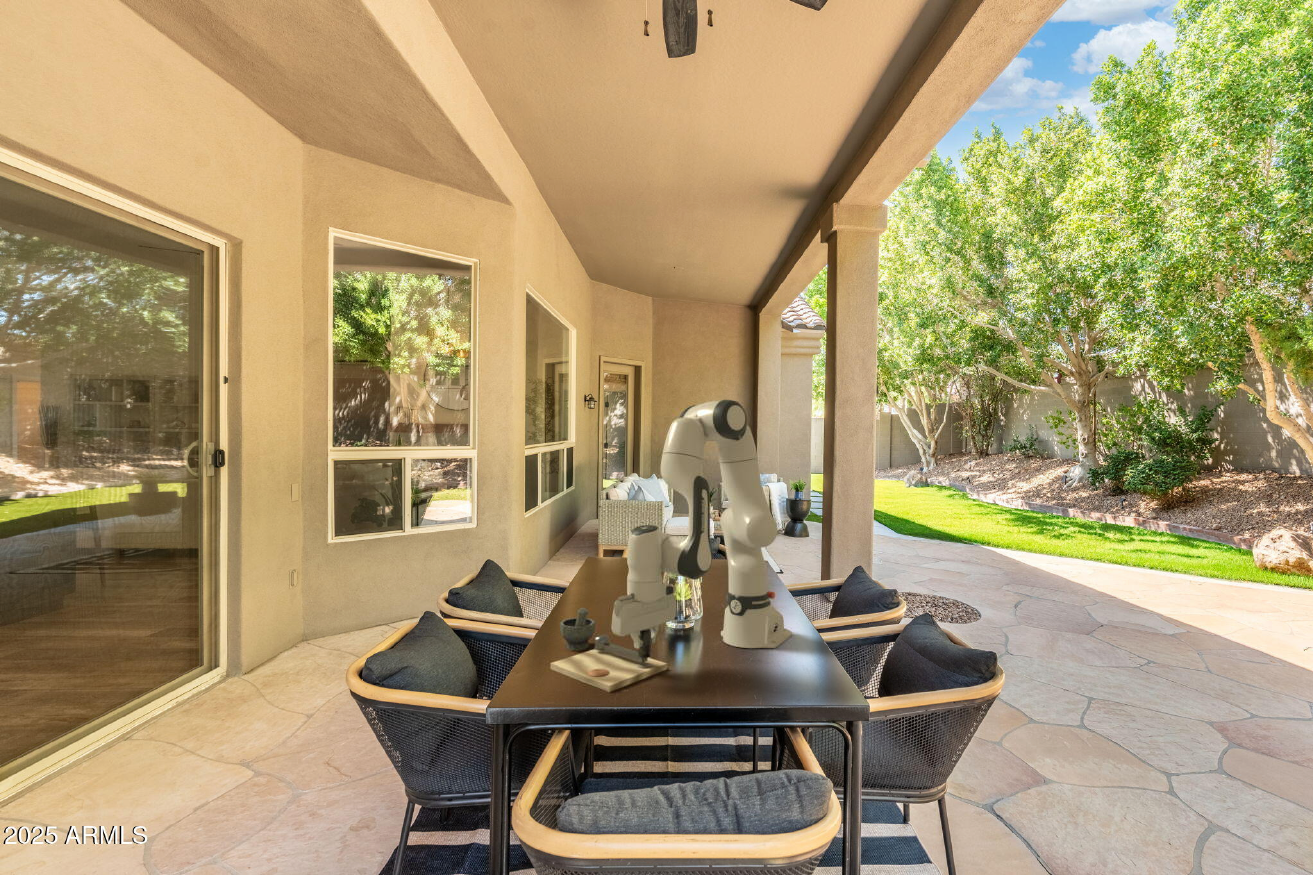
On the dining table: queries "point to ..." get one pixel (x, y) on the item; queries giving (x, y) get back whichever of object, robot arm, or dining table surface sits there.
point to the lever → (639, 656)
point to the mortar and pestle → (578, 630)
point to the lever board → (606, 669)
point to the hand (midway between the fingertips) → (644, 645)
